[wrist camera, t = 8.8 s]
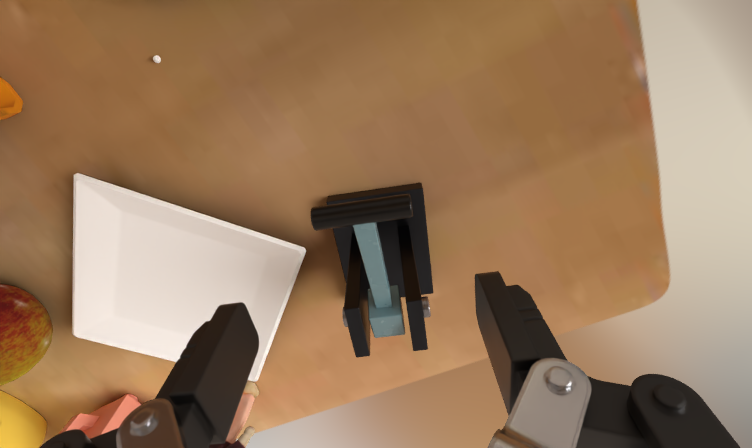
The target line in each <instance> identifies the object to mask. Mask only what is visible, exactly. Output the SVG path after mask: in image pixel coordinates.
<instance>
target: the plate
mask: <svg viewBox="0 0 752 448" xmlns="http://www.w3.org/2000/svg"><path fill="white" fill-rule="evenodd" d="M305 253H306V250H305V248H304V247H302V246H300V245H297V244H294V243H291V242H287V241H284V240H281V239H278V238H275V237H272V236H269V235H266V234H263V233H260V232H257V231H254V230H251V229H248V228H245V227H242V226H239V225H236V224H233V223H230V222H227V221H224V220H221V219H218V218H215V217H212V216H209V215H205V214H202V213H199V212H196V211H193V210H190V209H187V208H184V207H181V206H178V205H175V204H172V203H169V202H166V201H163V200H160V199H157V198H154V197H151V196H148V195H145V194H142V193H139V192H136V191H133V190H130V189H127V188H123V187H120V186H117V185H114V184H111V183H108V182H105V181H102V180H99V179H96V178H93V177H90V176H87V175H84V174H80V173H76V174H74V201H73V297H72V334H73V335H74V336H75V337H78V338H82V339H86V340H90V341H94V342H98V343H102V344H106V345H110V346H114V347H118V348H122V349H126V350H130V351H134V352H138V353H142V354H146V355H150V356H154V357H158V358H162V359H166V360H170V361H174V362H177V361H178V359H180V355H181V354H182V352H183V350H184V349H185V348H186V345H187V344H188V342H189V340H190V338H191V337H192V335H193V333H194V332H195V331H196V330H197V329H198V328H200V327H201V326H202V325H203V324H204V323H205V322H206V321H210V320H211V318H212V317H213V315H214V313H215V311H216V309H217V308H218V306H220V305H223V304H231V303H239V302H242V303H244V304H245V305H246V307H247V310H248V312H249V314H250V317H251V319H252V321H253V324H254V326H255V328H256V330H257V333H258V336H259V349H258V353H257V356H256V358H255V361H254V364H253V367H252V369H251V372H250V375H249V378H248V380H250V381H254V382H255V381H258V378H259V375H260V373H261V370H262V368H263V365H264V362H265V360H266V357H267V354H268V352H269V349H270V346H271V344H272V341H273V338H274V336H275V333H276V330H277V328H278V325H279V322H280V320H281V317H282V314H283V312H284V309H285V306H286V304H287V301H288V298H289V296H290V293H291V290H292V288H293V285H294V282H295V280H296V277H297V274H298V272H299V269H300V266H301V264H302V261H303V258H304V256H305Z"/></svg>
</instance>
